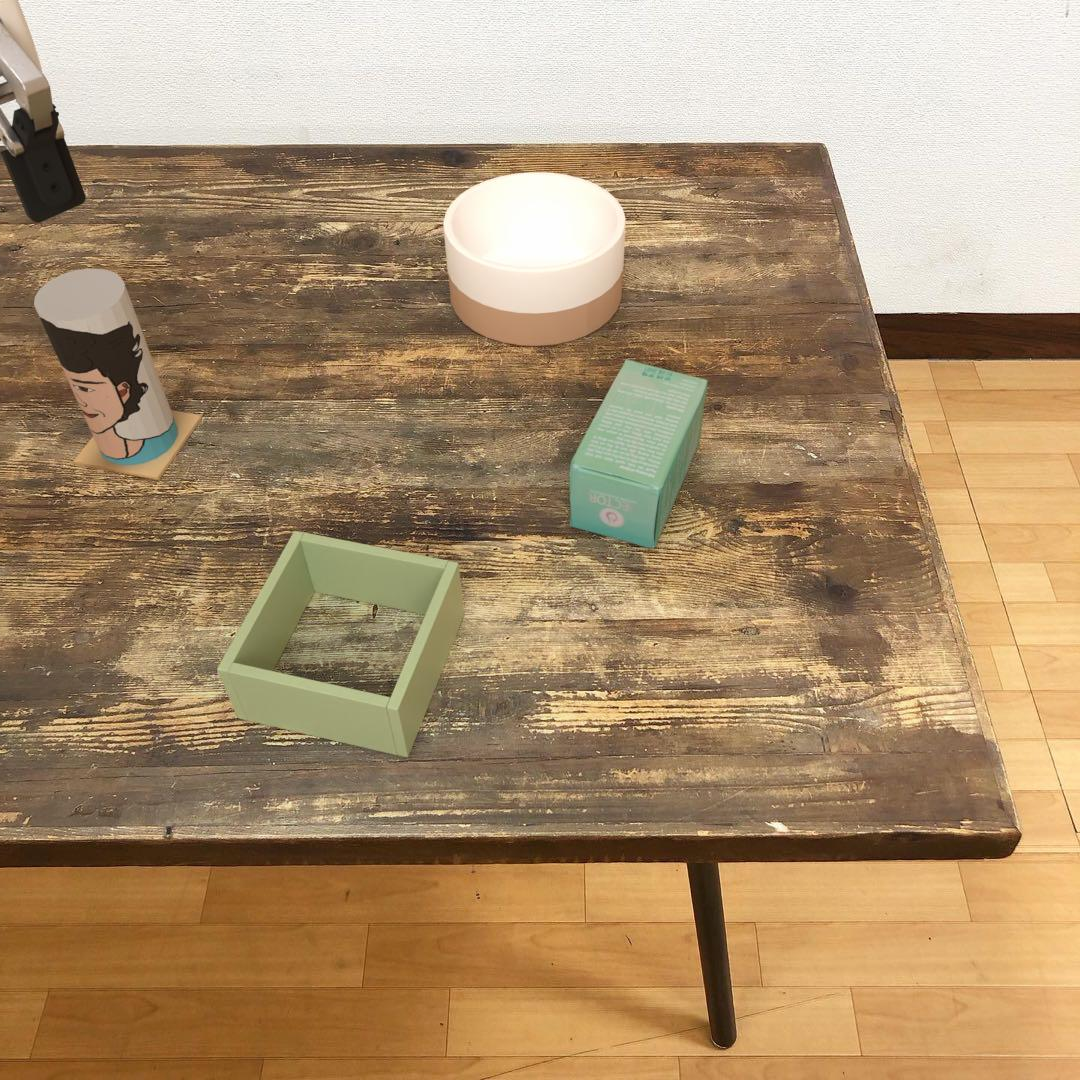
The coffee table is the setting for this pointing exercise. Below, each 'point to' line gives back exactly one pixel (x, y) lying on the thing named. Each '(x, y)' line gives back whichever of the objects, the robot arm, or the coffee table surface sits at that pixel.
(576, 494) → the box
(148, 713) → the coffee table surface
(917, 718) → the coffee table surface
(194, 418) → the coaster
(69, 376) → the grey printed cylinder
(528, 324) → the bowl
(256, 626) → the crate
